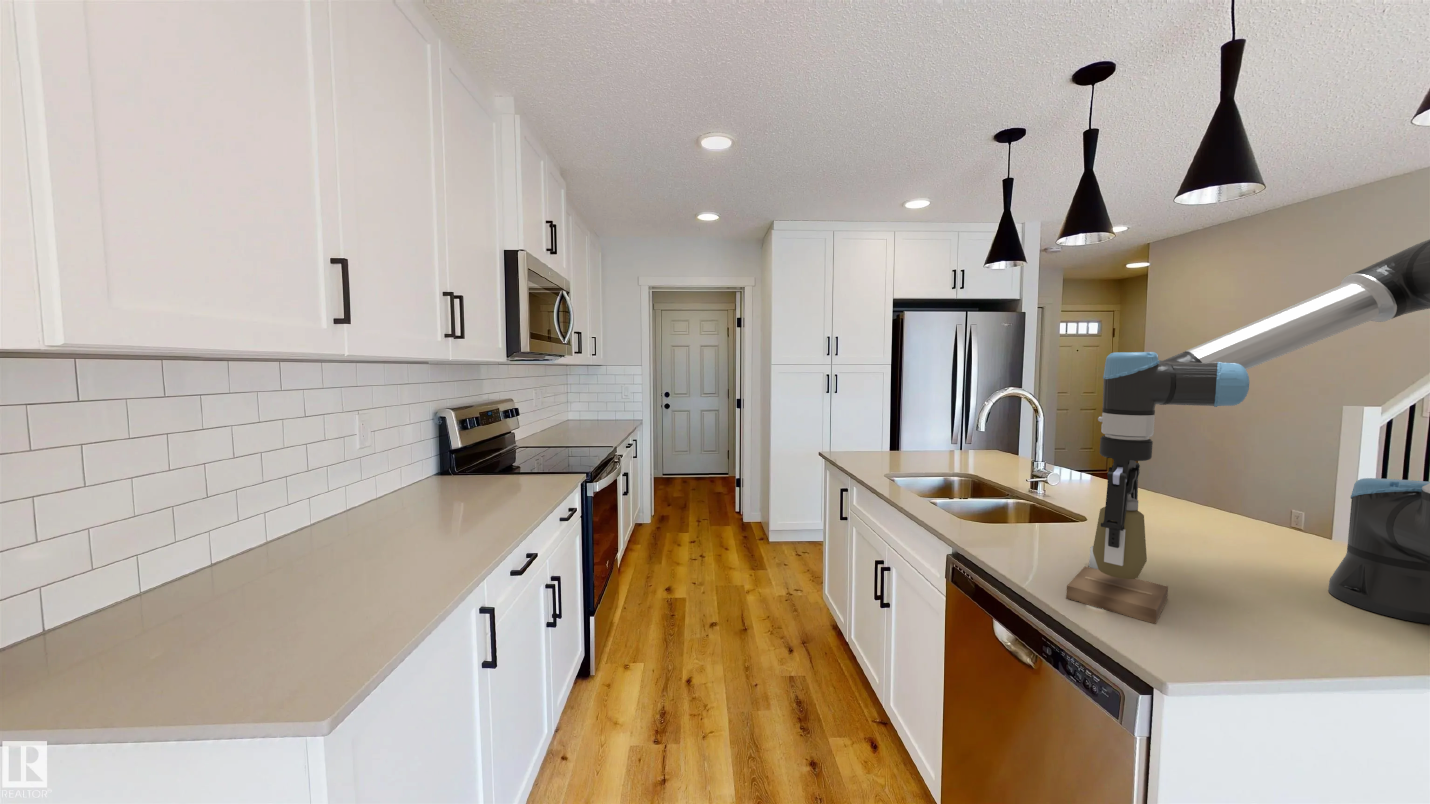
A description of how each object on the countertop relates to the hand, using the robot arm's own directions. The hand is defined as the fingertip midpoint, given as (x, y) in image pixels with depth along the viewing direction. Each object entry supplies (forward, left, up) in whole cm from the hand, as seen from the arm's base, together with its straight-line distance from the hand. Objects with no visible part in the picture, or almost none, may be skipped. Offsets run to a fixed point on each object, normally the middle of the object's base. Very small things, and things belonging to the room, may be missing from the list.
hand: (1118, 556), depth 97 cm
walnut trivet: (0, 0, -8) cm, 8 cm away
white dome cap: (+3, -16, -8) cm, 18 cm away
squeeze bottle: (0, 0, -3) cm, 3 cm away
